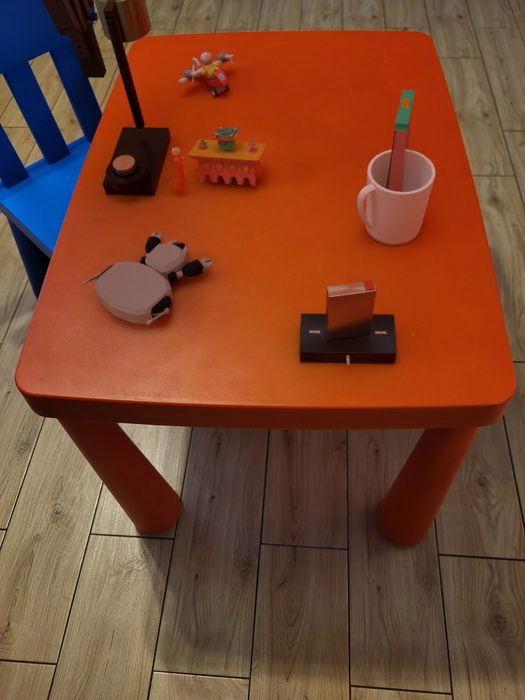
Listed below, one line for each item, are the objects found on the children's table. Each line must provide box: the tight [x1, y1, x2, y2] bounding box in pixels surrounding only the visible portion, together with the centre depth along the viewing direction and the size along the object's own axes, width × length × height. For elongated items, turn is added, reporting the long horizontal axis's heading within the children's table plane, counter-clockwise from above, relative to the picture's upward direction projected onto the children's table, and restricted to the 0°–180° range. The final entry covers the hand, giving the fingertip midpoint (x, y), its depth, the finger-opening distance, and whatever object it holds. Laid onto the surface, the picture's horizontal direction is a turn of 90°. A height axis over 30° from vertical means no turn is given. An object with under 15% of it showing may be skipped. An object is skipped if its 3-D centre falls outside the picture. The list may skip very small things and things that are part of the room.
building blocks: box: [171, 89, 415, 192], centre depth 90 cm, size 12×35×14 cm, turn 76°
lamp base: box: [102, 126, 172, 197], centre depth 99 cm, size 16×8×4 cm, turn 174°
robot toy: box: [81, 231, 214, 326], centre depth 85 cm, size 12×4×15 cm
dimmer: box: [299, 313, 398, 366], centre depth 78 cm, size 12×10×3 cm
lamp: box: [94, 0, 152, 129], centre depth 95 cm, size 10×7×19 cm
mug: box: [356, 148, 436, 246], centre depth 85 cm, size 11×9×10 cm
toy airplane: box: [177, 49, 235, 98], centre depth 109 cm, size 9×9×6 cm
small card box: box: [325, 279, 377, 340], centre depth 73 cm, size 6×2×9 cm, turn 97°
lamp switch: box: [113, 155, 137, 178], centre depth 94 cm, size 3×3×2 cm
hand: (95, 74), depth 81 cm, fingers closed
